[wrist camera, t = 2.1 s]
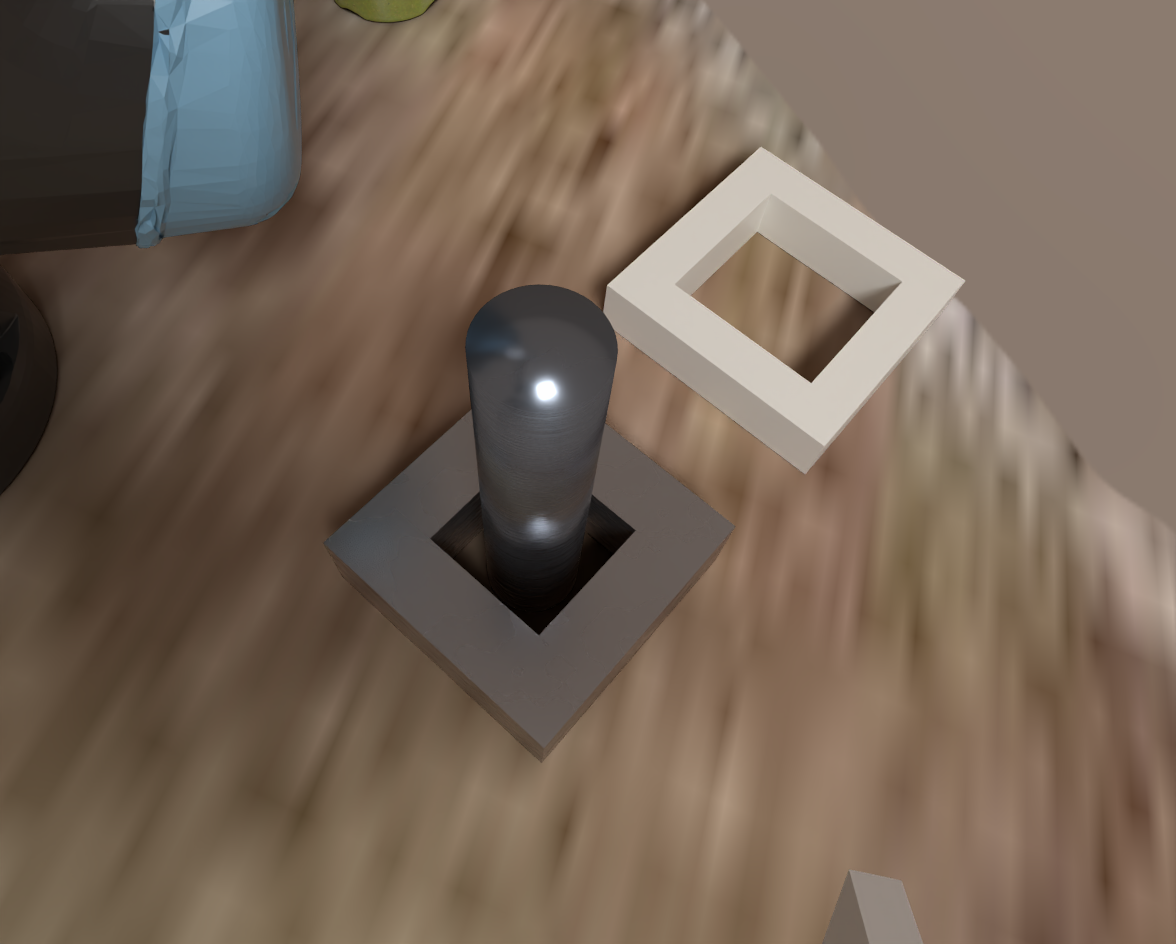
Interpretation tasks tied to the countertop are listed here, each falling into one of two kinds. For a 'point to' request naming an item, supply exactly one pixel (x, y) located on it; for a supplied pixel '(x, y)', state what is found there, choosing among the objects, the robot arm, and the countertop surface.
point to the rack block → (733, 361)
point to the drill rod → (538, 434)
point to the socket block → (492, 631)
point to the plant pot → (386, 9)
